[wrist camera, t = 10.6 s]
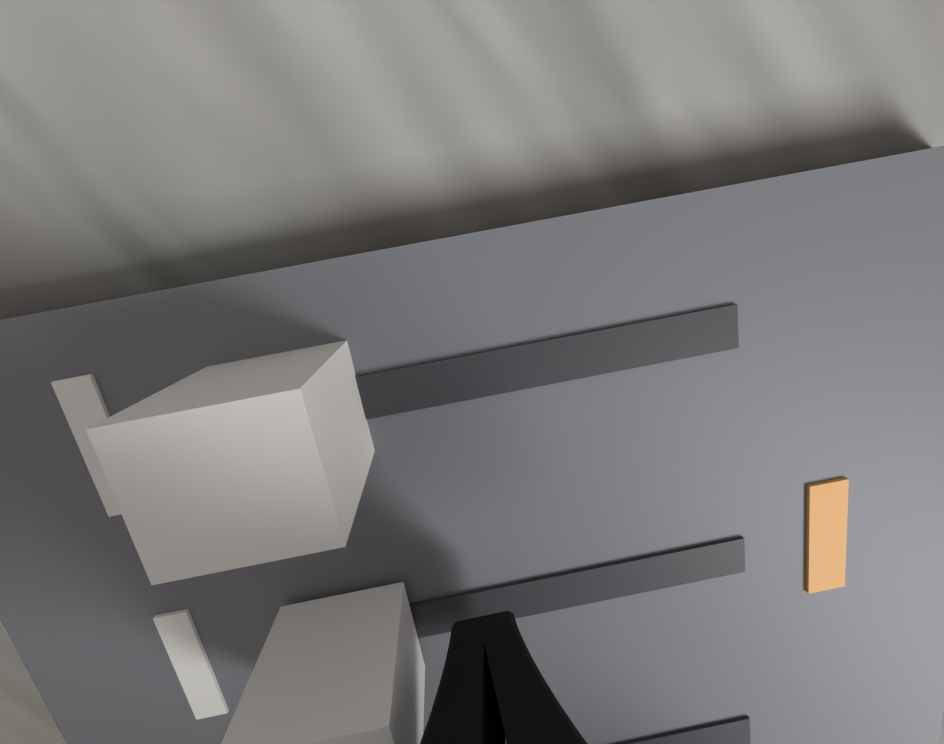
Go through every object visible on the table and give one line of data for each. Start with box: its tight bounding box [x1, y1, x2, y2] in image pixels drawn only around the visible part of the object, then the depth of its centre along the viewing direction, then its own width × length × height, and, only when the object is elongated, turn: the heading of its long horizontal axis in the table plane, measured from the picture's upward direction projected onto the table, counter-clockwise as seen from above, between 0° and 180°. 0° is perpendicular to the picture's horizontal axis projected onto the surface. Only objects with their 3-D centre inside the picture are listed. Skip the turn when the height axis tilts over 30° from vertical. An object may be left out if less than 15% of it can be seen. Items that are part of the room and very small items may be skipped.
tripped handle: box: [221, 582, 425, 744], centre depth 10 cm, size 3×3×4 cm
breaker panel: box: [0, 146, 944, 744], centre depth 11 cm, size 18×24×5 cm
